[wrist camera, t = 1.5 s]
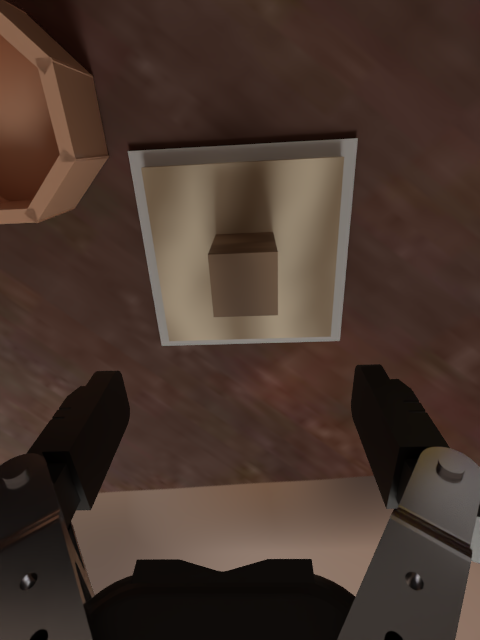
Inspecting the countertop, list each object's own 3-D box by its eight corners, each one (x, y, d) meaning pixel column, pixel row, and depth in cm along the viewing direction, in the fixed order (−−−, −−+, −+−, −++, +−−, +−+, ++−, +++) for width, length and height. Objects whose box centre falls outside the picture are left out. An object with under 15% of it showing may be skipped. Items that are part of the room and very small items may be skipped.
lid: (340, 156, 23) (367, 160, 18) (328, 330, 29) (345, 373, 24) (145, 166, 24) (113, 173, 18) (171, 335, 30) (154, 378, 24)
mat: (356, 138, 23) (357, 138, 23) (338, 338, 30) (339, 340, 29) (129, 151, 24) (127, 151, 23) (162, 343, 30) (161, 345, 30)
